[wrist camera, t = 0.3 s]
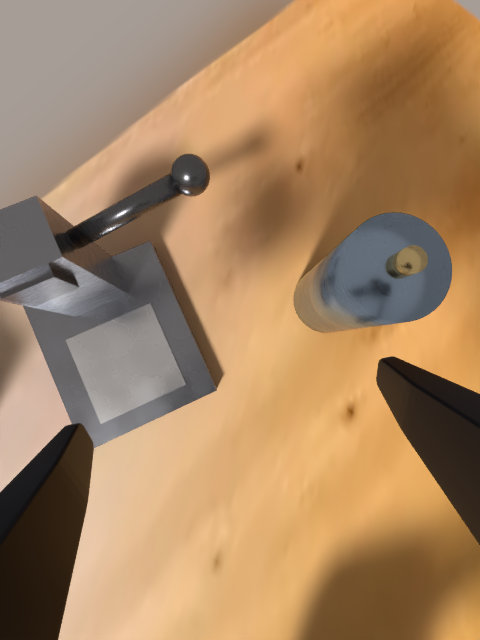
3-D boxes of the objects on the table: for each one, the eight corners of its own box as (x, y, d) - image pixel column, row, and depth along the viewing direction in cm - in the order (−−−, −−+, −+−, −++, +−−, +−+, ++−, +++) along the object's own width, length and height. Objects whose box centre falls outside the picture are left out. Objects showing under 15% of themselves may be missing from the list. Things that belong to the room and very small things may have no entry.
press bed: (270, 362, 23) (309, 375, 13) (91, 447, 22) (-31, 539, 11) (206, 224, 24) (193, 127, 13) (29, 298, 23) (-139, 255, 12)
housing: (371, 299, 24) (496, 257, 13) (328, 346, 24) (421, 345, 13) (323, 254, 24) (407, 176, 13) (280, 301, 24) (329, 260, 13)
